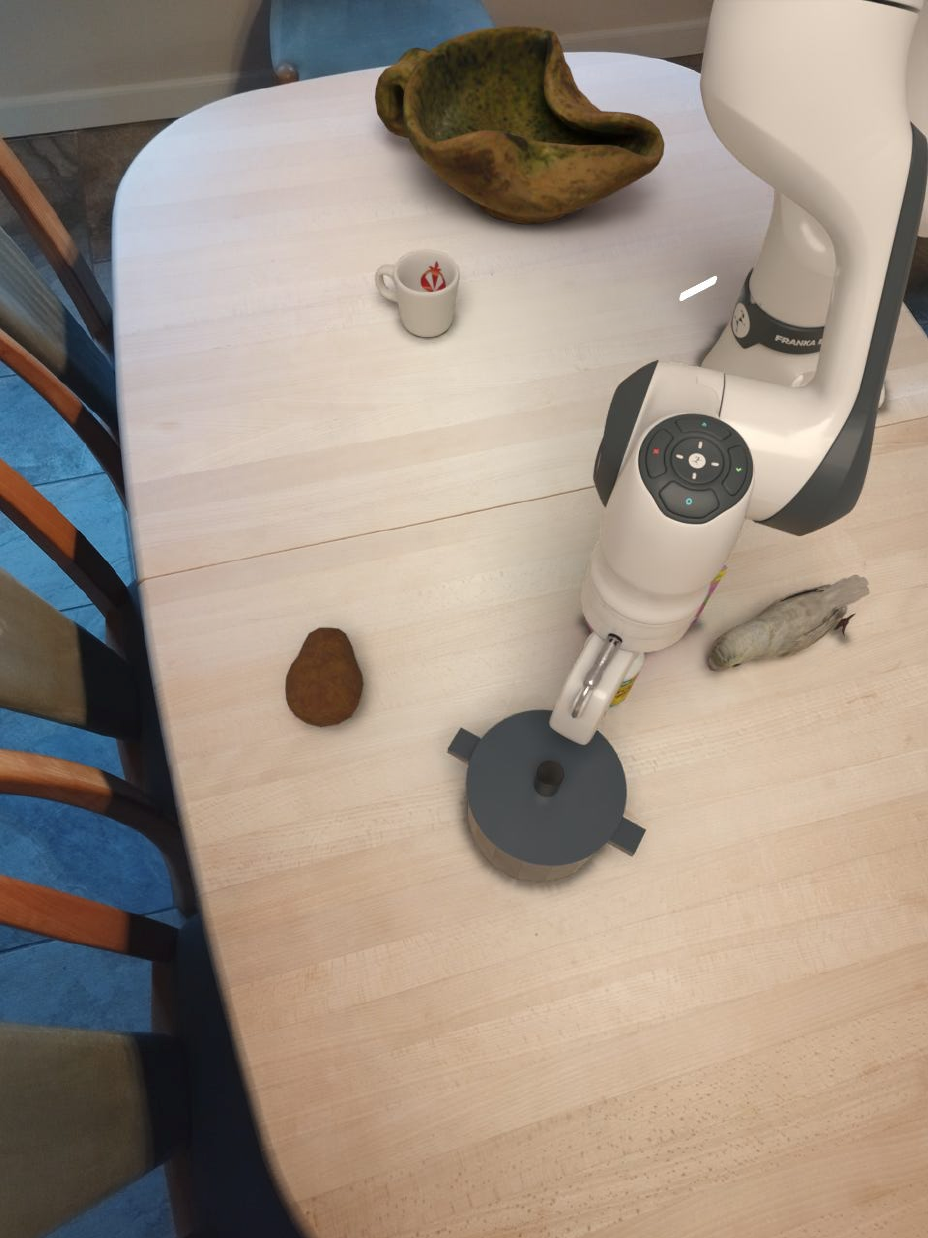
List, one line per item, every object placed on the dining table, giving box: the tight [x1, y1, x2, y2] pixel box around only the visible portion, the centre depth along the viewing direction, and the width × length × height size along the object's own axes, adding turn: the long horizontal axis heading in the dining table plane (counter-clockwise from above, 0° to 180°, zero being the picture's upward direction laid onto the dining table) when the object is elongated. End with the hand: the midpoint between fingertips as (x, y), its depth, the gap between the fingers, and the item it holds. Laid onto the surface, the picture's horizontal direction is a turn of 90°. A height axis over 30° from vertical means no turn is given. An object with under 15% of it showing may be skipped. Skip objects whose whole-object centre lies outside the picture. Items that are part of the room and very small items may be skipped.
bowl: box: [374, 25, 665, 225], centre depth 119 cm, size 39×29×15 cm
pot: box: [446, 727, 647, 883], centre depth 77 cm, size 13×18×8 cm
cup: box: [374, 248, 461, 338], centre depth 107 cm, size 11×8×8 cm
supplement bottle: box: [580, 631, 645, 710], centre depth 77 cm, size 5×5×10 cm
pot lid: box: [465, 709, 628, 868], centre depth 72 cm, size 14×14×4 cm
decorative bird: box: [708, 574, 870, 672], centre depth 87 cm, size 5×16×7 cm, turn 114°
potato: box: [284, 626, 364, 728], centre depth 82 cm, size 7×10×8 cm
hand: (608, 668), depth 78 cm, fingers closed on supplement bottle, 5 cm apart
